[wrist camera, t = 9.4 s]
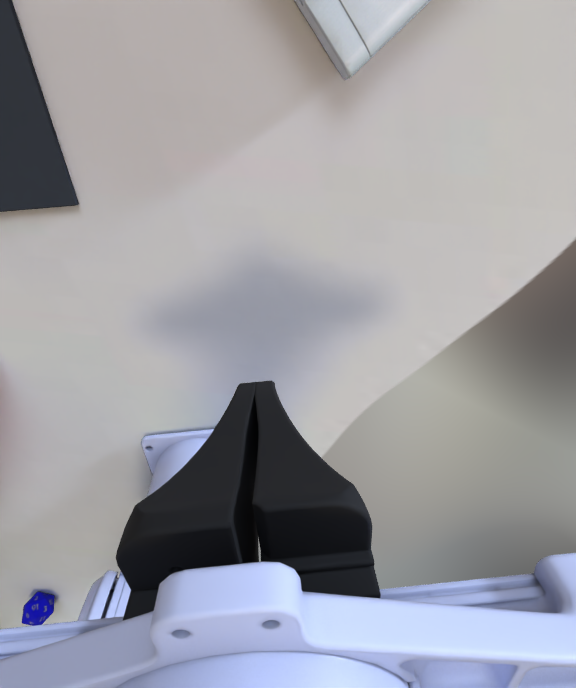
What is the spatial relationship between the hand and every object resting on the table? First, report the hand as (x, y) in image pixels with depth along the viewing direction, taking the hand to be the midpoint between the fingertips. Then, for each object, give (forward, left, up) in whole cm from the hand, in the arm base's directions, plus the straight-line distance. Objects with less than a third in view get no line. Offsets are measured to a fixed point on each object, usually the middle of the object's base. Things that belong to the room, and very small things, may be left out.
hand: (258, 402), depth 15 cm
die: (-30, +25, -11) cm, 41 cm away
